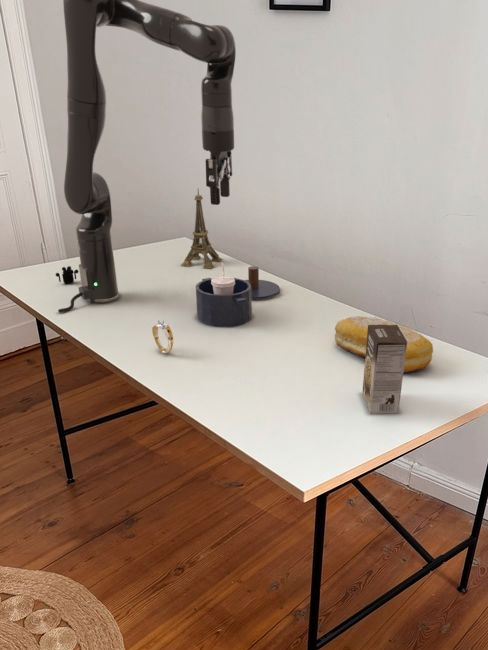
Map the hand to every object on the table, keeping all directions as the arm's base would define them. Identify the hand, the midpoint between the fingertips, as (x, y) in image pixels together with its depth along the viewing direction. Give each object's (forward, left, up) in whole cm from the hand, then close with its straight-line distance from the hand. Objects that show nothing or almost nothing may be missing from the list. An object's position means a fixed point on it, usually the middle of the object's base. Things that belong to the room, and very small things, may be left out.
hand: (220, 200), depth 169 cm
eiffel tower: (+17, +46, -30) cm, 58 cm away
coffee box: (+4, -61, -30) cm, 68 cm away
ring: (-24, -13, -30) cm, 41 cm away
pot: (0, 0, -30) cm, 30 cm away
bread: (+20, -42, -30) cm, 55 cm away
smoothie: (0, 0, -30) cm, 30 cm away
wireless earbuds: (-27, +48, -30) cm, 63 cm away
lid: (+17, +13, -30) cm, 36 cm away
